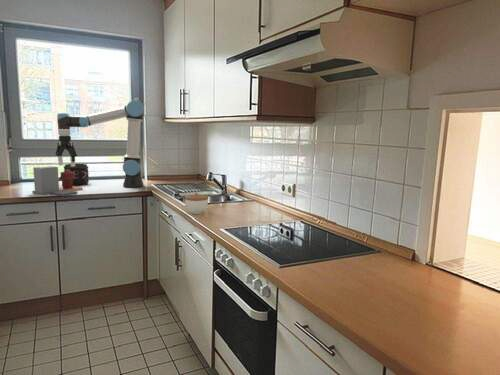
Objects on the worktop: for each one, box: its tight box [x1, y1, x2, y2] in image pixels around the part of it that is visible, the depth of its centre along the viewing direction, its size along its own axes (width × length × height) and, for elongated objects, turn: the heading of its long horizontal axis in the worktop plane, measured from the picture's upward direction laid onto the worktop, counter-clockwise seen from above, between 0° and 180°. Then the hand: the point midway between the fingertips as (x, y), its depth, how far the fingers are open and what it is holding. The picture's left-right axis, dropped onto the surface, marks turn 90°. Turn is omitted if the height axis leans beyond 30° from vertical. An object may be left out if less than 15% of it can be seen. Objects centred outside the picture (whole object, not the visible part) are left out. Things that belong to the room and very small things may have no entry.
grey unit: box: [31, 165, 61, 196], centre depth 249 cm, size 14×12×18 cm
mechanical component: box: [58, 170, 75, 189], centre depth 262 cm, size 12×10×10 cm
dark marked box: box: [63, 163, 90, 187], centre depth 289 cm, size 18×18×16 cm
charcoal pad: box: [51, 190, 78, 197], centre depth 247 cm, size 11×11×2 cm
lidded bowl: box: [184, 192, 209, 215], centre depth 201 cm, size 13×13×11 cm
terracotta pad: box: [59, 186, 84, 192], centre depth 263 cm, size 14×14×2 cm
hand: (66, 166), depth 260 cm, fingers open, 13 cm apart
